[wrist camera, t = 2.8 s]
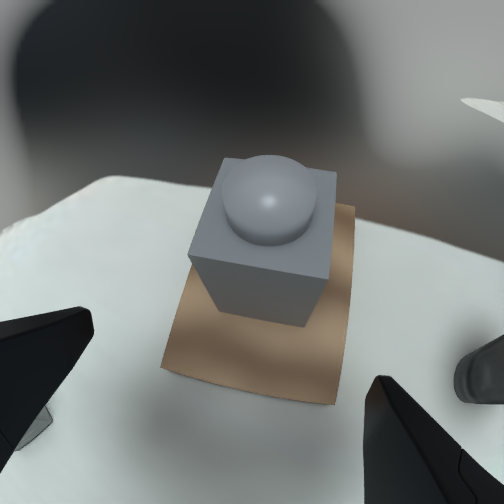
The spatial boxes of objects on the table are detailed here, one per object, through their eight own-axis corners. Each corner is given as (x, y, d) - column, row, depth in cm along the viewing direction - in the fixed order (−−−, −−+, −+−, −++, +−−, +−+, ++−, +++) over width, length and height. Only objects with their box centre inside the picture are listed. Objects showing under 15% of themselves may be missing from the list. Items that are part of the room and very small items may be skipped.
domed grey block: (304, 327, 19) (336, 262, 10) (218, 311, 20) (177, 236, 11) (315, 251, 21) (341, 151, 13) (239, 238, 22) (220, 136, 13)
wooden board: (328, 404, 18) (351, 407, 12) (169, 370, 19) (135, 359, 14) (349, 219, 25) (366, 175, 20) (223, 199, 27) (213, 153, 21)
